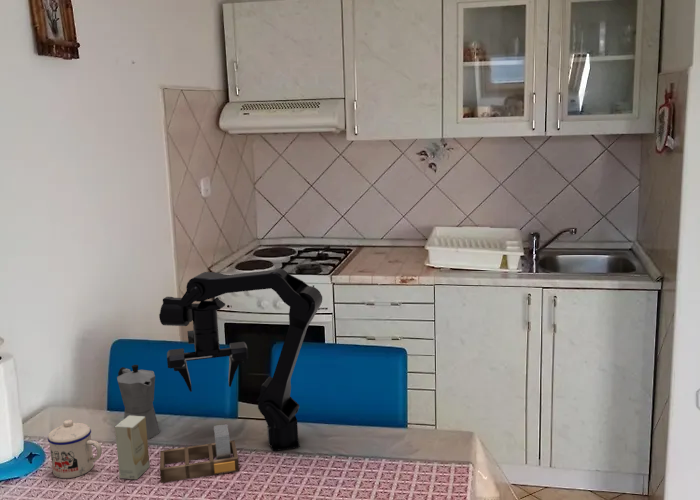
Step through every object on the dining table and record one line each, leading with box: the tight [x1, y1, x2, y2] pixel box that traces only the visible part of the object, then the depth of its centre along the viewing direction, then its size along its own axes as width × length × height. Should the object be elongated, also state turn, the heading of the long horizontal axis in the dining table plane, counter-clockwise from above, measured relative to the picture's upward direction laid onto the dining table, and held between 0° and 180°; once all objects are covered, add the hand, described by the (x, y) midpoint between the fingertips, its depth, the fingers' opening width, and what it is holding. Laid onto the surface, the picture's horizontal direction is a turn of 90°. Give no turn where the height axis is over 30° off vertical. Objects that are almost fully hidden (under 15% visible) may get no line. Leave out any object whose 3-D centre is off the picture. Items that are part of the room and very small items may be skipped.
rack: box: [159, 439, 240, 484], centre depth 156 cm, size 17×10×3 cm, turn 104°
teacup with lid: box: [47, 419, 103, 479], centre depth 156 cm, size 12×9×12 cm
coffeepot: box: [116, 364, 161, 440], centre depth 173 cm, size 15×9×18 cm, turn 44°
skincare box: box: [114, 415, 151, 480], centre depth 154 cm, size 6×4×12 cm
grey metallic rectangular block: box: [213, 423, 232, 460], centre depth 157 cm, size 3×6×8 cm, turn 15°
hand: (210, 388), depth 167 cm, fingers open, 9 cm apart
